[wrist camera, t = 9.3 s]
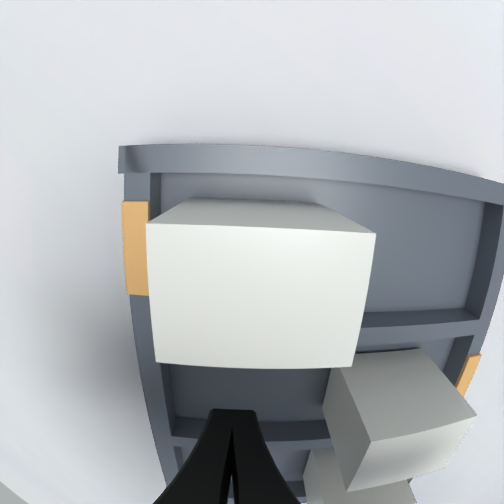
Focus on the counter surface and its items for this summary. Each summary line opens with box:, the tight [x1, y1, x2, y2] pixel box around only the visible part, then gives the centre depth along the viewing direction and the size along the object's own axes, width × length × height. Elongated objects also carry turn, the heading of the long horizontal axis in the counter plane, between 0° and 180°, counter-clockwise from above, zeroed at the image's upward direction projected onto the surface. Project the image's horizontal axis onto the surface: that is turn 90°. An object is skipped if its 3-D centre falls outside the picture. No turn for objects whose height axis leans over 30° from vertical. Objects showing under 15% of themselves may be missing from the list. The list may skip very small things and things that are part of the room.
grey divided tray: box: [118, 144, 504, 504], centre depth 12 cm, size 17×14×3 cm
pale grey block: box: [303, 448, 417, 504], centre depth 11 cm, size 3×4×4 cm
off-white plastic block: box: [146, 198, 376, 369], centre depth 8 cm, size 3×4×4 cm
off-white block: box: [322, 348, 478, 492], centre depth 9 cm, size 3×4×4 cm
